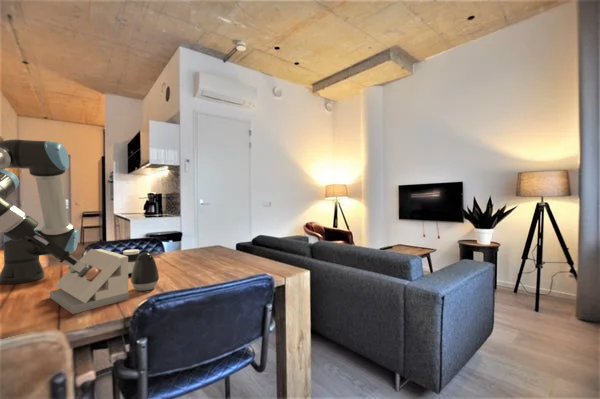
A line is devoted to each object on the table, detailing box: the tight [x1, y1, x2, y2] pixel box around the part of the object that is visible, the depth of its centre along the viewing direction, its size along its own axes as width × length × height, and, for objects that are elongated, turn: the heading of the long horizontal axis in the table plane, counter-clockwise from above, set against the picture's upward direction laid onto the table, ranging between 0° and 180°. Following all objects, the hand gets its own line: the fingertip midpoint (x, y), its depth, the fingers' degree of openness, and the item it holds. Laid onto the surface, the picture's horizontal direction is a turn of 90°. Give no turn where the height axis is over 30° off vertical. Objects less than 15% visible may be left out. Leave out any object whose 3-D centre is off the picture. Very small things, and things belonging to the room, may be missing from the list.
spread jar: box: [122, 249, 141, 277], centre depth 142 cm, size 12×11×12 cm
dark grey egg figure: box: [130, 252, 160, 292], centre depth 121 cm, size 10×10×15 cm
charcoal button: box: [76, 264, 91, 277], centre depth 108 cm, size 4×4×4 cm
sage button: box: [68, 265, 77, 273], centre depth 113 cm, size 4×4×4 cm
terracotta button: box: [85, 267, 100, 281], centre depth 103 cm, size 4×4×4 cm
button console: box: [49, 248, 129, 315], centre depth 110 cm, size 25×17×17 cm
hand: (82, 268), depth 100 cm, fingers closed
